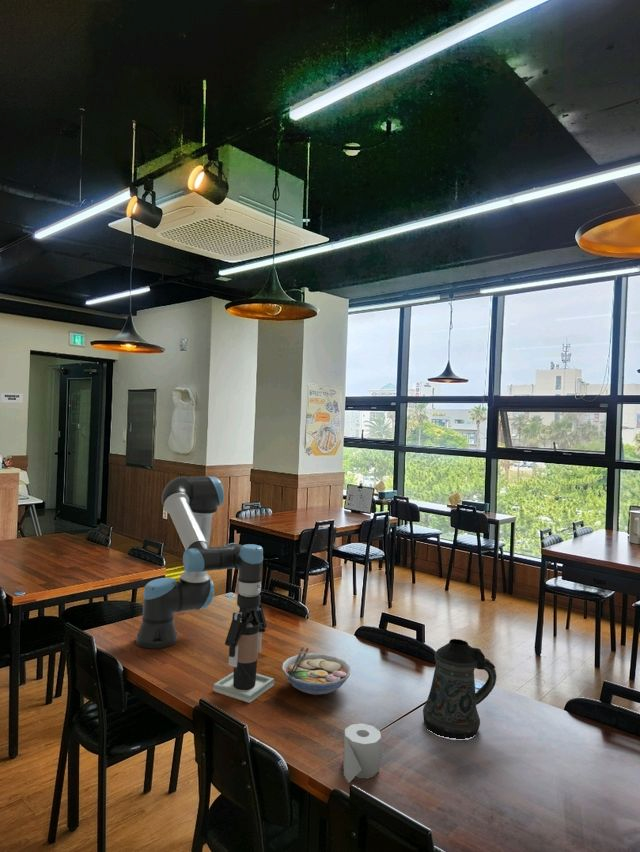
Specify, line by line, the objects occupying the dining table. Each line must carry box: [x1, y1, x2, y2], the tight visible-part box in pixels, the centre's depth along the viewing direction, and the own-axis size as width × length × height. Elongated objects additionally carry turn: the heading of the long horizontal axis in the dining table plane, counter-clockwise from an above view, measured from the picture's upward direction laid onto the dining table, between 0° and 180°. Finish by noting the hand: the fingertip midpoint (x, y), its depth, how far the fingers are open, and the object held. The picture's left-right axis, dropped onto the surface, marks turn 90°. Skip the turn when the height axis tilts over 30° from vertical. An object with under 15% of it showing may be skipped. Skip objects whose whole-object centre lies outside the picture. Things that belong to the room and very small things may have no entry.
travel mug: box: [233, 621, 259, 690], centre depth 179 cm, size 8×8×20 cm
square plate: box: [213, 671, 275, 704], centre depth 178 cm, size 14×14×2 cm
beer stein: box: [422, 638, 497, 739], centre depth 162 cm, size 16×19×25 cm
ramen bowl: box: [281, 646, 352, 696], centre depth 180 cm, size 25×23×8 cm
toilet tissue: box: [342, 722, 382, 784], centre depth 138 cm, size 9×13×9 cm
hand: (245, 658), depth 179 cm, fingers open, 13 cm apart
